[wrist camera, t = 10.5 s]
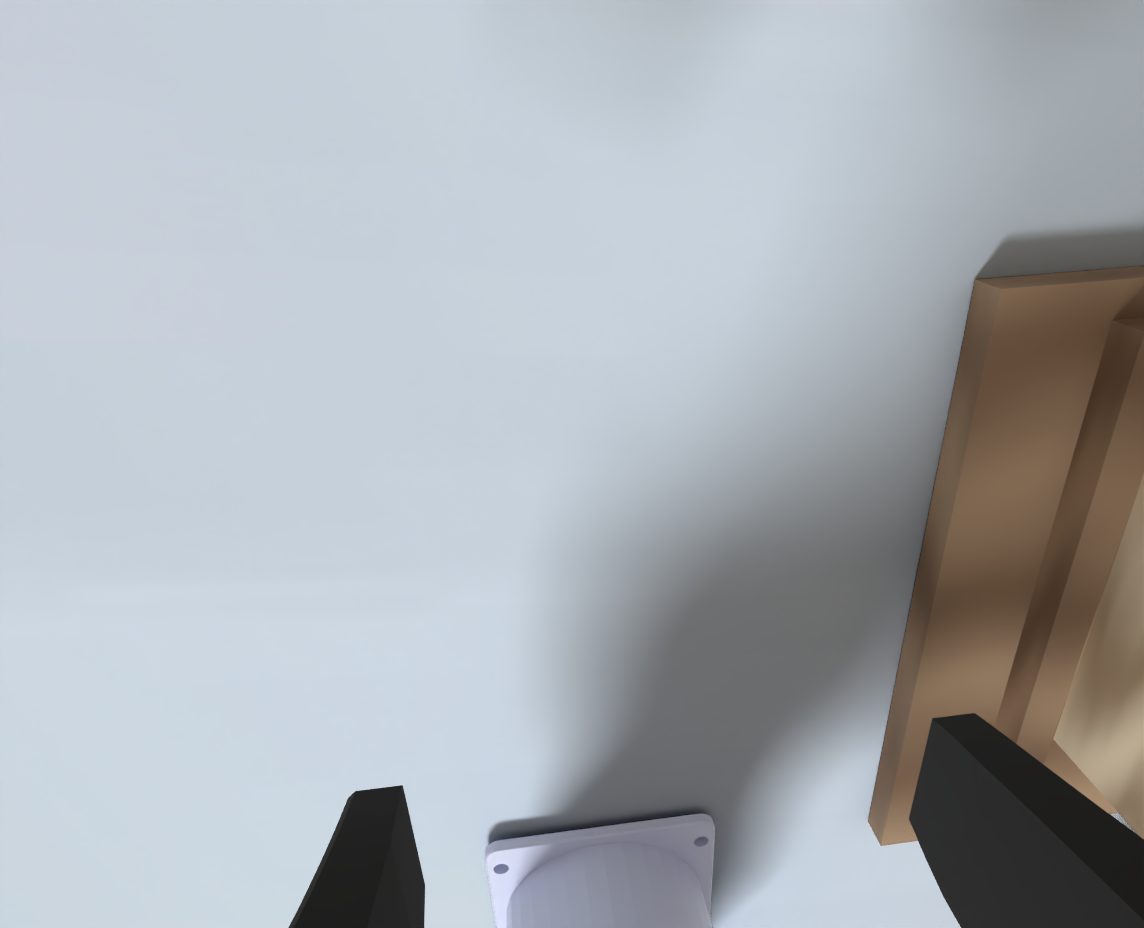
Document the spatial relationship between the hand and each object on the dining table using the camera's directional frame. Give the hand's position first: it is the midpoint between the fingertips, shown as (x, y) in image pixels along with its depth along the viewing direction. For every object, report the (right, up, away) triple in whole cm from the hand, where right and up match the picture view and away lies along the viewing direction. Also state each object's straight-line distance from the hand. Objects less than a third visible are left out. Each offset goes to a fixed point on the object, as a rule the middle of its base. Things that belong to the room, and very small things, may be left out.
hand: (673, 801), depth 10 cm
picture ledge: (+16, +1, +13) cm, 21 cm away
